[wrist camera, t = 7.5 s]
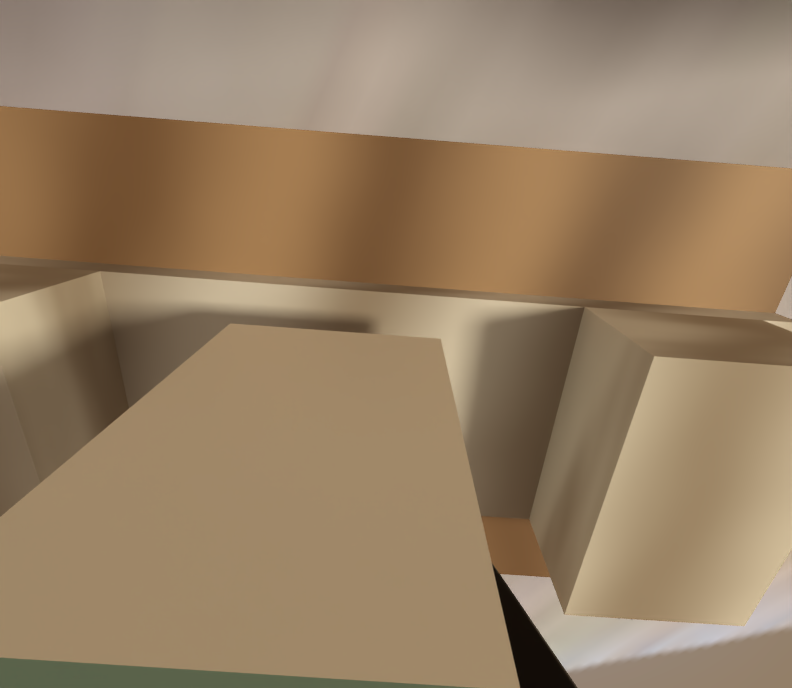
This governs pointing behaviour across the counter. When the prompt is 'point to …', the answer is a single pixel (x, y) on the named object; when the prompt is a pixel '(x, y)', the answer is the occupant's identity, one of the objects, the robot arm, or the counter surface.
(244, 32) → the counter surface
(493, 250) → the board
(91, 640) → the block
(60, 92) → the counter surface
